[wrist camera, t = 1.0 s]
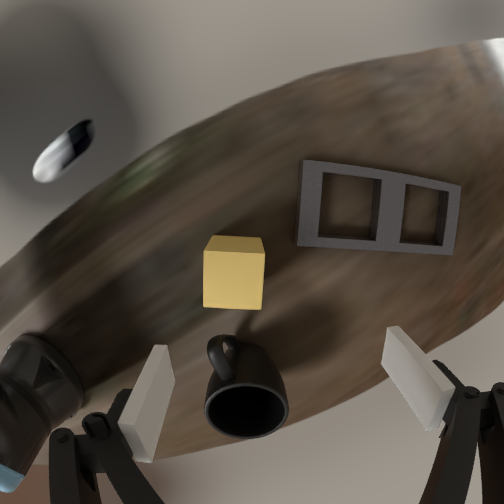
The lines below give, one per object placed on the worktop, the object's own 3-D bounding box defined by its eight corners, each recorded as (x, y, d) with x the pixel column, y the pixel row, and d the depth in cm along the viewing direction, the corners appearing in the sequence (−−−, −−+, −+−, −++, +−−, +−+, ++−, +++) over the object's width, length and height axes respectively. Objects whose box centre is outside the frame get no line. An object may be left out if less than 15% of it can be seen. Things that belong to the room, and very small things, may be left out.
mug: (257, 295, 33) (261, 338, 23) (287, 375, 35) (298, 428, 26) (189, 316, 33) (171, 363, 24) (226, 392, 36) (223, 445, 27)
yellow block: (211, 280, 32) (203, 306, 25) (212, 235, 31) (203, 250, 24) (257, 282, 32) (261, 309, 26) (260, 237, 31) (265, 253, 24)
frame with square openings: (293, 241, 31) (297, 245, 29) (299, 160, 29) (303, 159, 27) (443, 251, 32) (452, 255, 30) (451, 185, 30) (461, 186, 28)
